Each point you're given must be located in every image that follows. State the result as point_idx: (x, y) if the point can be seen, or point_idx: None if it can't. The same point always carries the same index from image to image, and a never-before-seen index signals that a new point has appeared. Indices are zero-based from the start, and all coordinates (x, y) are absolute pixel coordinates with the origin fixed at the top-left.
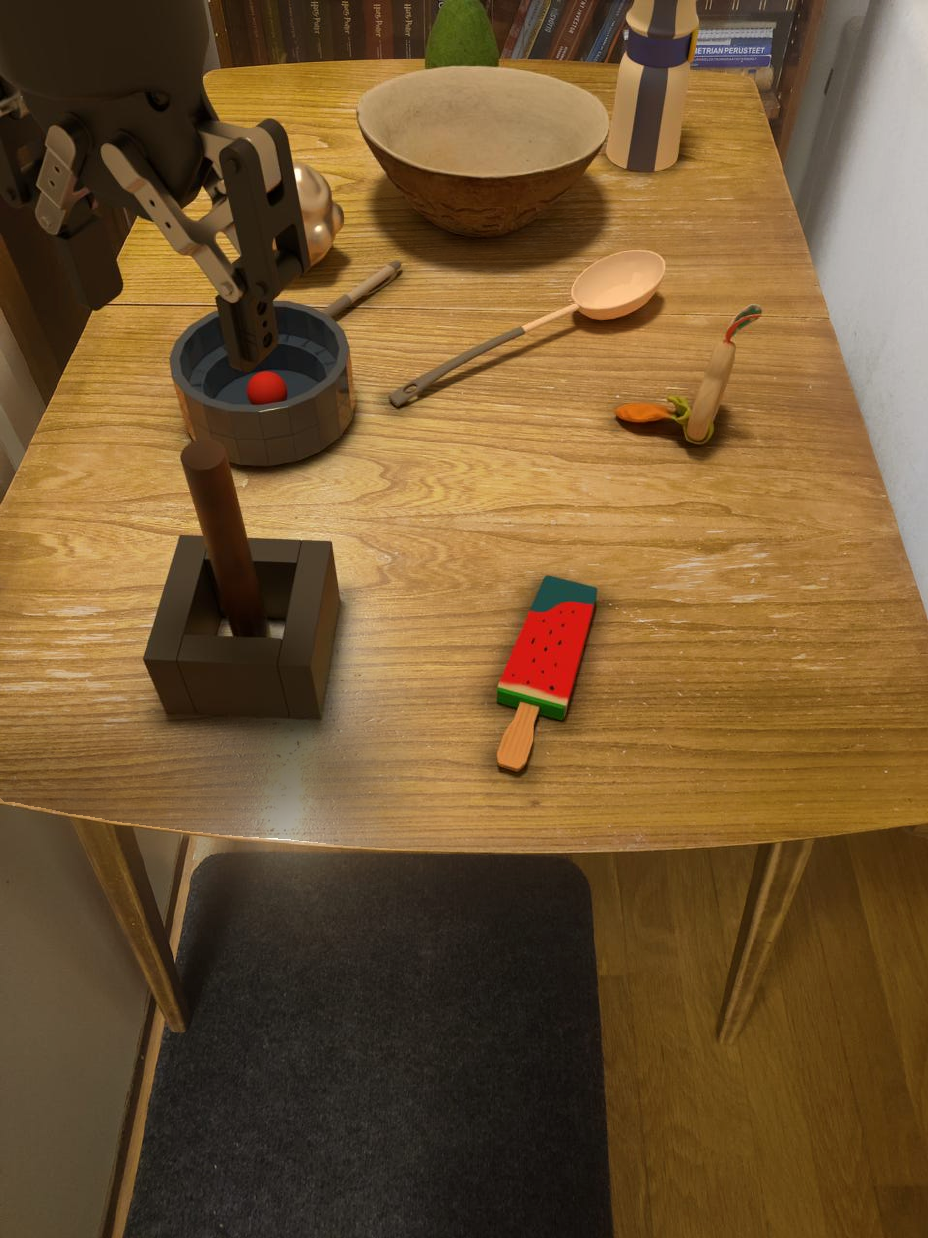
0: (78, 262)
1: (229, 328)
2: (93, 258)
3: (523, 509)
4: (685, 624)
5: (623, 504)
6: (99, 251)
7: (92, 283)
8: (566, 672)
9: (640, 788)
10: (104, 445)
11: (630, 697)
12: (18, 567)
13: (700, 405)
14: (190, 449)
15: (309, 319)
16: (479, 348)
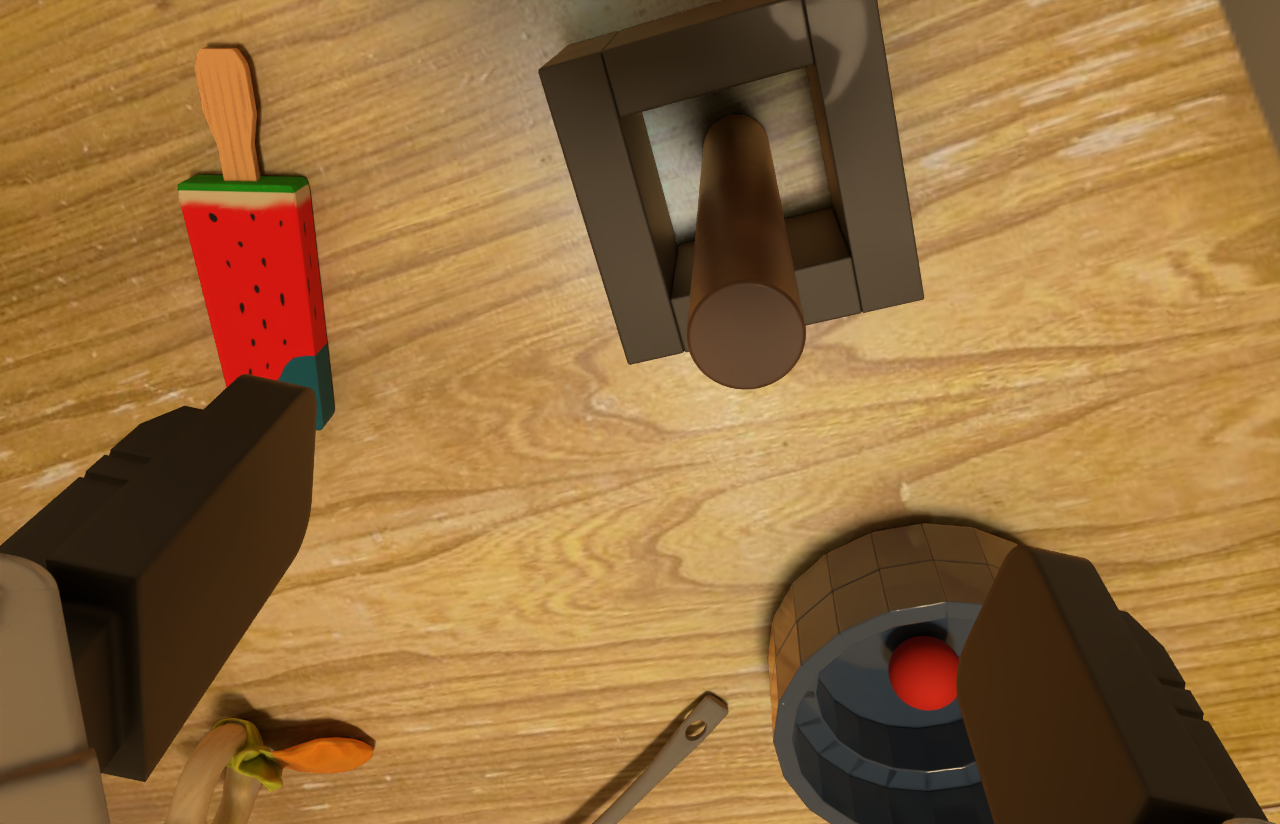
0: (1090, 706)
1: (171, 476)
2: (1043, 749)
3: (431, 549)
4: (111, 405)
5: (293, 593)
6: (1031, 790)
7: (1035, 643)
8: (205, 254)
9: (31, 88)
10: (1203, 508)
11: (123, 251)
12: (1276, 198)
13: (198, 775)
14: (784, 341)
15: (886, 822)
16: (607, 821)
